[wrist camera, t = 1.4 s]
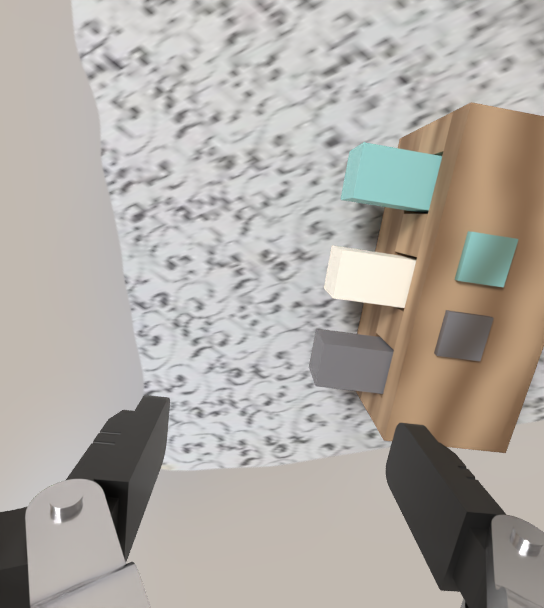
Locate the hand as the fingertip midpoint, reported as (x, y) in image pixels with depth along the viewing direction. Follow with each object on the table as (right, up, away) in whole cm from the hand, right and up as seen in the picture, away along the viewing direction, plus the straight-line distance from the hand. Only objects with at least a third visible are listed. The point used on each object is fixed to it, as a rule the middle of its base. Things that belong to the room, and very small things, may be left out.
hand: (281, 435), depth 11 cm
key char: (+9, -1, +24) cm, 25 cm away
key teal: (+11, +15, +20) cm, 27 cm away
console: (+16, +7, +28) cm, 33 cm away
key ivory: (+10, +7, +22) cm, 25 cm away
